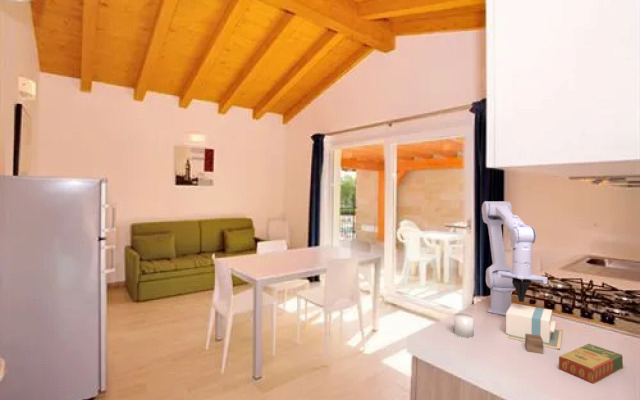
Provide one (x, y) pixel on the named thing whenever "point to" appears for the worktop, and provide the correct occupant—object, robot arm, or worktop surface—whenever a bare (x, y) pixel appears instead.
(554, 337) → the display mat
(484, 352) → the worktop surface
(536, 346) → the walnut block
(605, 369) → the carton
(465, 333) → the white glossy dome
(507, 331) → the milk carton
